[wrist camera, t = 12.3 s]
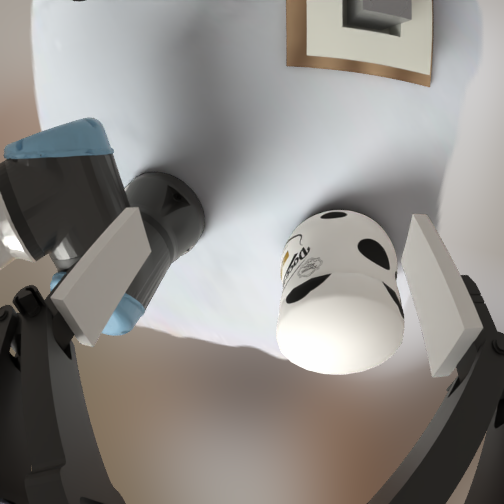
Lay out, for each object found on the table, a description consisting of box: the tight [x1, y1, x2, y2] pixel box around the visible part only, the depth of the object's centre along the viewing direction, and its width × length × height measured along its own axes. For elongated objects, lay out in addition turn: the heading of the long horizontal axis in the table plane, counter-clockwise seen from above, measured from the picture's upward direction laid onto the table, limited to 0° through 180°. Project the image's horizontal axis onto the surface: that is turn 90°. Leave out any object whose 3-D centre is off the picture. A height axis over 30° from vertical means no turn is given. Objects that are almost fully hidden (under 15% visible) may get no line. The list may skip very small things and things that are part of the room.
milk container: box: [276, 210, 404, 374], centre depth 39 cm, size 17×17×18 cm
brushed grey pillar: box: [347, 0, 412, 30], centre depth 19 cm, size 4×4×12 cm
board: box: [286, 0, 433, 87], centre depth 25 cm, size 18×16×1 cm
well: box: [307, 0, 432, 75], centre depth 22 cm, size 13×13×6 cm
